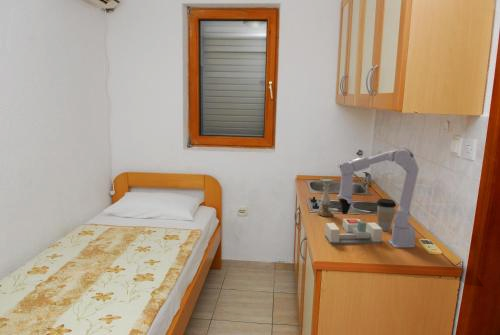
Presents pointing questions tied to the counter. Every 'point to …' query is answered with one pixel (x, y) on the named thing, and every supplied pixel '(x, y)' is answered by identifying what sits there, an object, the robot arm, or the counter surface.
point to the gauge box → (349, 226)
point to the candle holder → (325, 198)
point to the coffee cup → (385, 213)
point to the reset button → (352, 221)
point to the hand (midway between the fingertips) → (344, 213)
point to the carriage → (361, 230)
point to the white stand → (353, 235)
